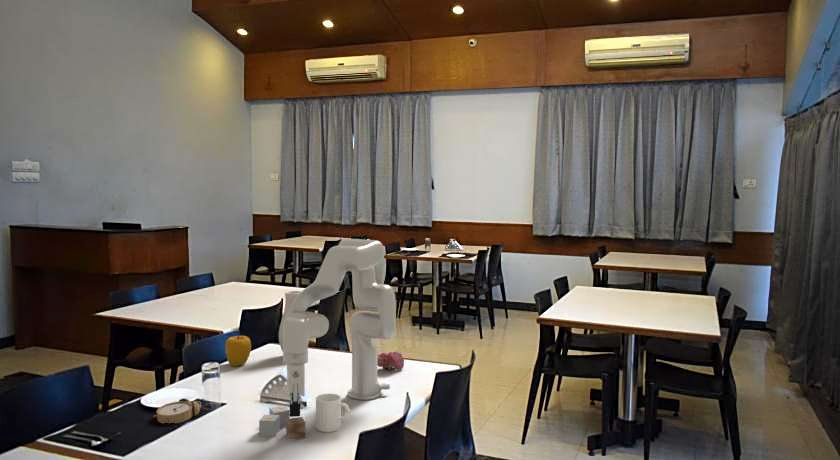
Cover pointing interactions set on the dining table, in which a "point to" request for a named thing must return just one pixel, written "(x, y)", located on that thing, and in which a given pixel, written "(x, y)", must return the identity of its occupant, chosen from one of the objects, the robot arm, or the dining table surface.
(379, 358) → the flower
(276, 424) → the block one
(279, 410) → the block two
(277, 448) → the dining table surface
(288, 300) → the vase
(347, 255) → the robot arm
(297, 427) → the plain block
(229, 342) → the apple
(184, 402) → the alarm clock
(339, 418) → the mug
